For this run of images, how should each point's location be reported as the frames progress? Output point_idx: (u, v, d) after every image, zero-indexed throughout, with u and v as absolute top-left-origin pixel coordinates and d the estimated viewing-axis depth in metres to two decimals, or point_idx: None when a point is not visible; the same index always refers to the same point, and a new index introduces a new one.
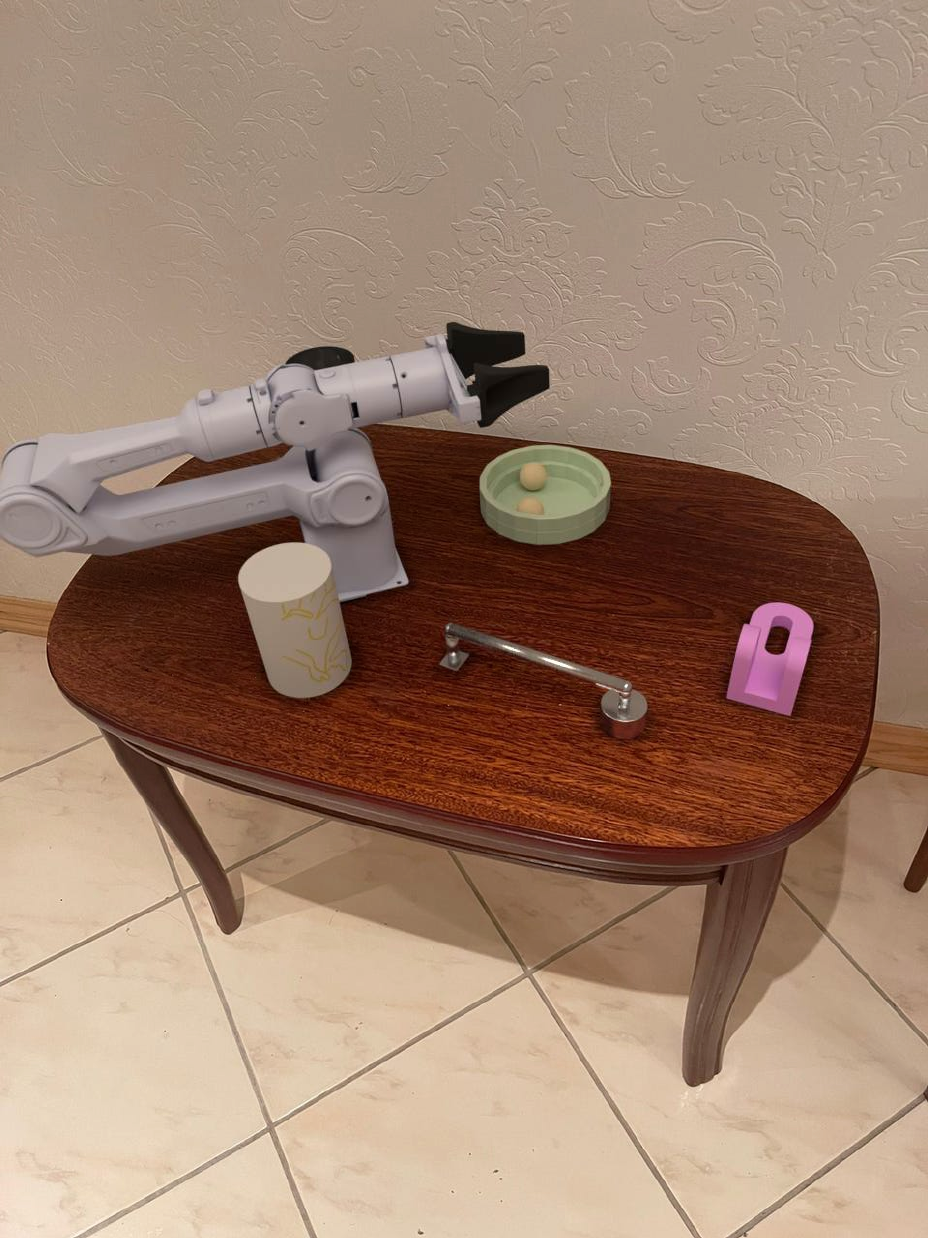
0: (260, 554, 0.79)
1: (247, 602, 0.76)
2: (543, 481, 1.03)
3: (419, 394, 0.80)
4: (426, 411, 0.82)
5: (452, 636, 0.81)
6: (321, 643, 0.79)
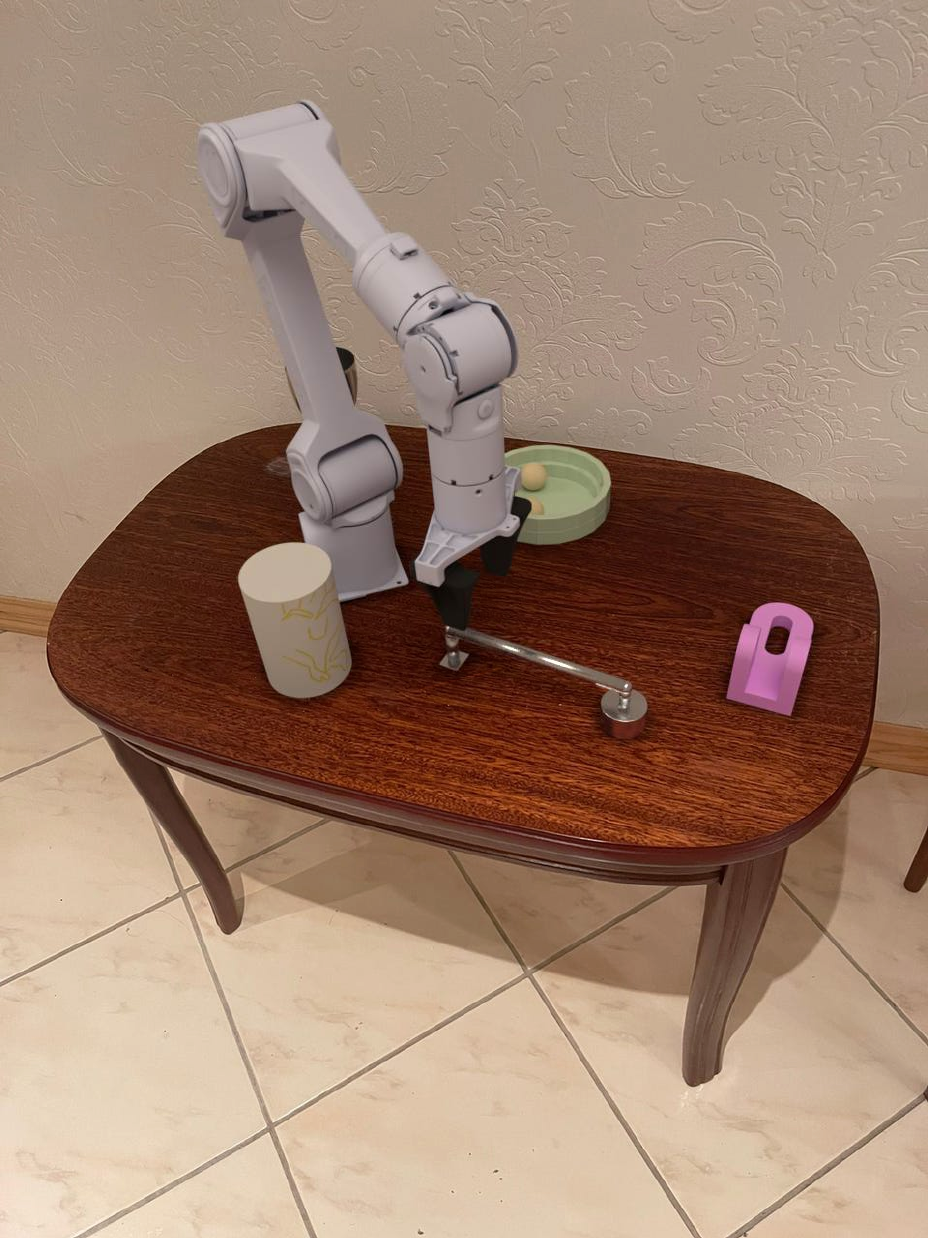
0: (260, 554, 0.79)
1: (247, 602, 0.76)
2: (543, 481, 1.03)
3: (455, 504, 0.67)
4: (435, 498, 0.69)
5: (452, 636, 0.81)
6: (321, 643, 0.79)
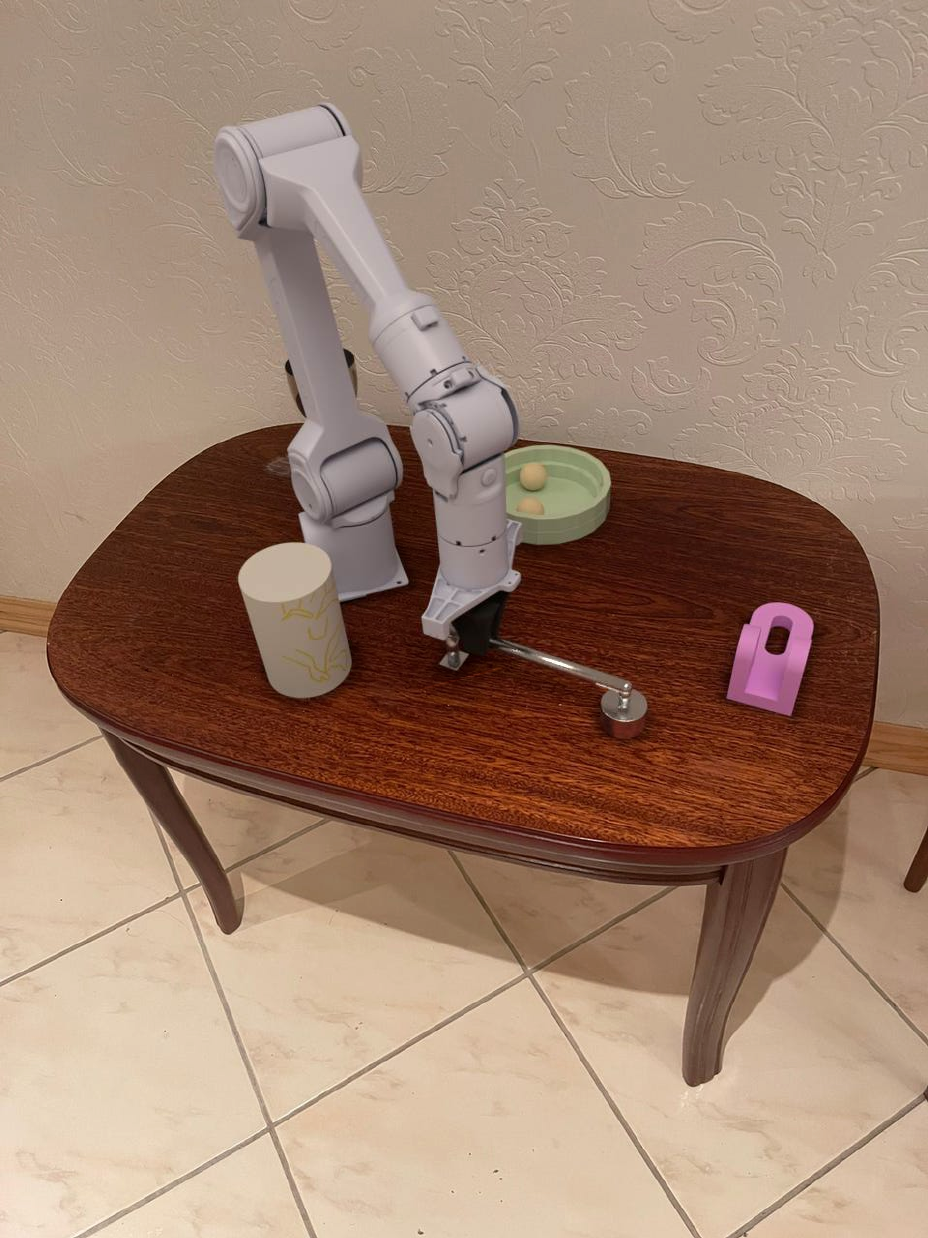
0: (260, 554, 0.79)
1: (247, 602, 0.76)
2: (543, 481, 1.03)
3: (459, 563, 0.71)
4: (440, 556, 0.73)
5: (452, 636, 0.81)
6: (321, 643, 0.79)
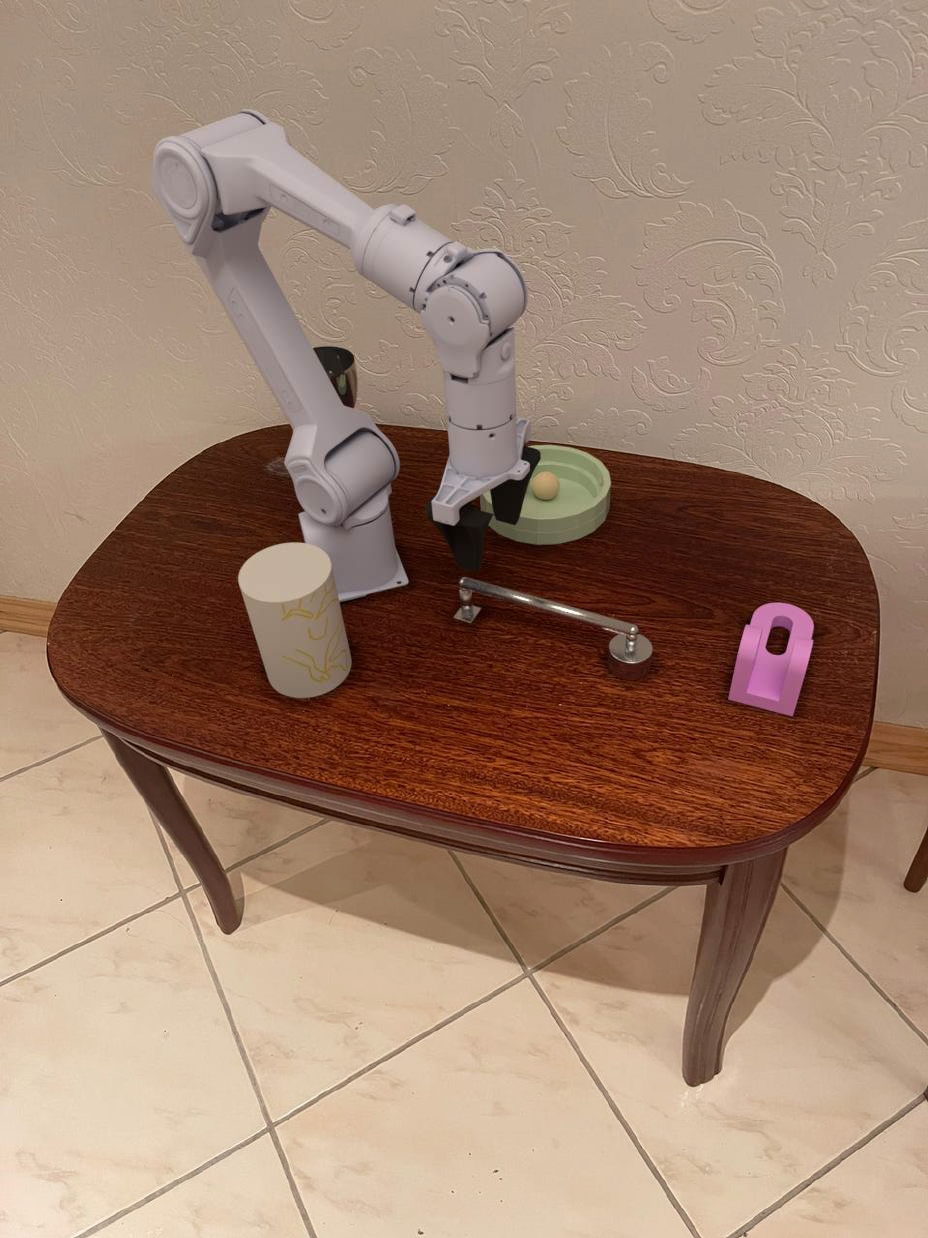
0: (260, 554, 0.79)
1: (247, 602, 0.76)
2: None
3: (469, 448, 0.72)
4: (450, 444, 0.73)
5: (466, 589, 0.86)
6: (321, 643, 0.79)
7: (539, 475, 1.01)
